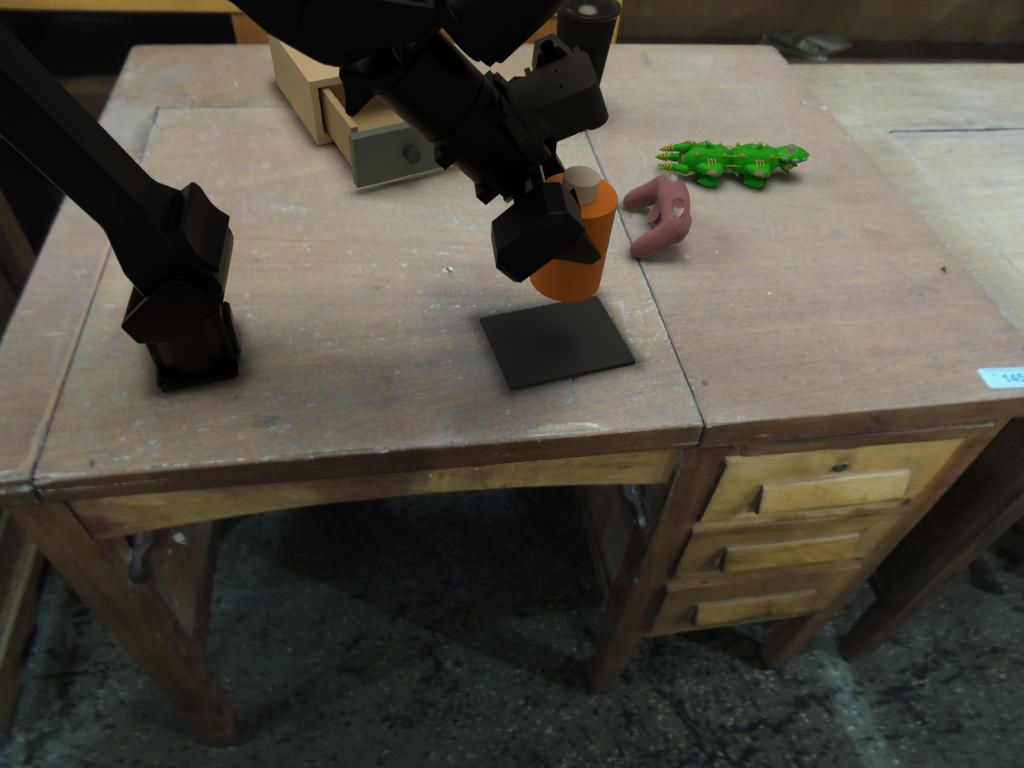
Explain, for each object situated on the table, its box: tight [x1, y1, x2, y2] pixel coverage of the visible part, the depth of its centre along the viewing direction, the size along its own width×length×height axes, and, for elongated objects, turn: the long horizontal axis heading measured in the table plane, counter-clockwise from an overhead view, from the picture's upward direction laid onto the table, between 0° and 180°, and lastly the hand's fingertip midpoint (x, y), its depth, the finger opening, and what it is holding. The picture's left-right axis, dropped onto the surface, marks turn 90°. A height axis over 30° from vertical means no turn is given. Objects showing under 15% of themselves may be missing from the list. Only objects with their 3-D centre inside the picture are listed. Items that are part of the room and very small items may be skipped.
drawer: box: [318, 83, 455, 189], centre depth 84 cm, size 16×13×6 cm
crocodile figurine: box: [654, 139, 810, 189], centre depth 87 cm, size 7×18×4 cm, turn 93°
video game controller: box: [622, 172, 693, 258], centre depth 78 cm, size 10×5×7 cm, turn 179°
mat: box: [479, 295, 637, 392], centre depth 68 cm, size 12×9×1 cm
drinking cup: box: [556, 0, 623, 87], centre depth 88 cm, size 8×8×20 cm
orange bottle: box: [529, 165, 619, 302], centre depth 59 cm, size 6×6×10 cm
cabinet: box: [267, 34, 342, 146], centre depth 91 cm, size 16×14×8 cm
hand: (588, 234), depth 59 cm, fingers closed on orange bottle, 6 cm apart
